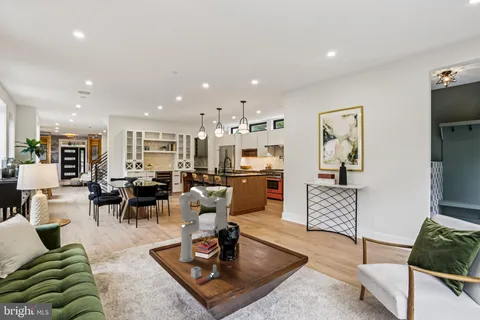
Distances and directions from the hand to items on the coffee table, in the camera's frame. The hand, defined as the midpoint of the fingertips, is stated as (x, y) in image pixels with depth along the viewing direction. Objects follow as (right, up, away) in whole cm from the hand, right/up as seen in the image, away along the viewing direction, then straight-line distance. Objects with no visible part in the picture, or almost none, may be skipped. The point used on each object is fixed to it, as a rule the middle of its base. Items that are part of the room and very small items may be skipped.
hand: (220, 236), depth 191 cm
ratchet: (-9, -30, -5) cm, 32 cm away
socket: (-19, -30, -1) cm, 36 cm away
